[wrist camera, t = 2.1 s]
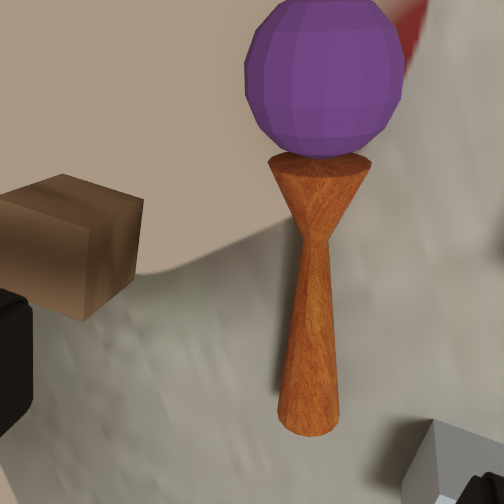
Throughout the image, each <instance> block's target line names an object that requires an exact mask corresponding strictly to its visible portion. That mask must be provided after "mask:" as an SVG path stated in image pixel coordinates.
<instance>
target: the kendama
mask: <svg viewBox="0 0 504 504" xmlns="http://www.w3.org/2000/svg"><path fill="white" fill-rule="evenodd" d="M244 67H245V68H244V71H245V72H244V73H245V96H246V98H247V101H248V103H249V105H250V108H251V110H252V112H253V115H254V117H255V120H256V122H257V124H258V126H259V127H260V129H261V130H262V131H263V132H264V133H265V134H266V135H267V136H269V138H270V139H272V140H273V141H274V142H275V143H276V144H277V145H278V146H279V147H280V148H281V149H284V150H286V151H289V152H284V153H281V154H278V155H275V156H273V157H271V159H270V160H269V161H268V164H269V166H270V168H271V171H272V173H273V175H274V177H275V179H276V181H277V183H278V186H279V188H280V190H281V192H282V194H283V196H284V199H285V200H286V203H287V205H288V207H289V209H290V211H291V214H292V216H293V218H294V220H295V222H296V224H297V226H298V229H299V231H300V233H301V235H302V237H303V245H302V251H301V258H300V264H299V271H298V278H297V284H296V291H295V297H294V304H293V310H292V317H291V323H290V330H289V336H288V343H287V350H286V356H285V363H284V369H283V376H282V382H281V389H280V395H279V402H278V409H277V412H278V417H279V420H280V422H281V423H282V424H283V425H284V427H285V428H286V429H288V430H290V431H292V432H293V433H295V434H298V435H302V436H307V437H312V436H321V435H324V434H326V433H328V432H330V431H332V430H333V428H334V427H335V426H336V425H337V424H338V420H339V414H340V413H339V398H338V382H337V367H336V352H335V337H334V321H333V306H332V291H331V275H330V260H329V245H328V240H329V238H330V236H331V235H332V233H333V231H334V229H335V228H336V226H337V224H338V223H339V221H340V219H341V217H342V216H343V214H344V212H345V211H346V209H347V207H348V205H349V204H350V202H351V200H352V199H353V197H354V195H355V193H356V192H357V190H358V188H359V187H360V185H361V183H362V181H363V180H364V178H365V176H366V175H367V173H368V171H369V169H370V167H371V163H372V162H371V161H370V160H368V159H367V158H366V157H364V156H361V155H358V154H355V153H351V152H354V151H356V150H359V149H361V148H362V147H363V146H365V145H366V144H367V143H368V142H369V141H371V140H372V139H373V138H374V137H375V136H376V135H378V134H379V133H380V132H381V131H382V130H384V129H385V127H386V126H387V124H388V122H389V120H390V118H391V116H392V114H393V112H394V110H395V109H396V107H397V105H398V103H399V101H400V99H401V93H402V84H403V76H404V67H405V58H404V55H403V51H402V49H401V45H400V41H399V38H398V34H397V30H396V27H395V26H394V25H393V24H392V22H391V21H390V20H389V19H388V18H387V17H386V15H385V14H384V13H383V12H382V11H381V9H380V8H379V7H378V6H377V5H376V3H374V2H373V1H371V0H286V1H284V2H282V3H280V4H278V6H277V7H276V8H275V9H274V10H273V11H272V12H271V13H270V15H269V16H268V17H267V18H266V19H265V20H264V21H263V23H262V24H261V25H260V26H259V27H258V28H257V29H256V31H255V34H254V36H253V39H252V42H251V45H250V48H249V51H248V53H247V56H246V59H245V62H244Z"/></svg>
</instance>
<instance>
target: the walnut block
mask: <svg viewBox="0 0 504 504" xmlns="http://www.w3.org/2000/svg"><path fill="white" fill-rule="evenodd" d="M143 204H144V199H142V198H138V197H135V196H132V195H129V194H126V193H123V192H119V191H116V190H113V189H110V188H107V187H103V186H100V185H97V184H94V183H91V182H88V181H84V180H81V179H78V178H75V177H72V176H69V175H66V174H60V175H57V176H54V177H51V178H49V179H46V180H43V181H40V182H37V183H34V184H31V185H28V186H25V187H22V188H19V189H16V190H13V191H10V192H7V193H4V194H1V195H0V288H3V289H6V290H8V291H11V292H14V293H16V294H19V295H22V296H24V297H26V298H27V300H28V301H29V302H31V303H34V304H37V305H39V306H42V307H45V308H47V309H50V310H53V311H55V312H58V313H61V314H63V315H66V316H69V317H71V318H74V319H77V320H79V321H82V322H83V321H85V320H86V319H87V318H88V317H89V316H91V315H92V314H93V313H94V312H96V311H97V310H98V309H99V308H100V307H102V306H103V305H104V304H105V303H106V302H108V301H109V300H110V299H111V298H113V297H114V296H115V295H116V294H117V293H119V292H120V291H121V290H122V289H124V288H125V287H126V286H127V285H128V284H130V283H131V282H132V281H133V280H134V274H135V271H136V263H137V254H138V246H139V237H140V229H141V221H142V212H143Z"/></svg>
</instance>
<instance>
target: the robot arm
mask: <svg viewBox="0 0 504 504" xmlns="http://www.w3.org/2000/svg"><path fill="white" fill-rule="evenodd" d="M32 400H33V311H32V308H31V306H29V304H28V300H27V298H26V297H24V296H22V295H19V294H16V293H14V292H11V291H8V290H6V289H3V288H0V437H1V436H2V435H3V434H4V433H5V432H6V431H7V430H9V429H10V428H11V427H12V426H13V425H14V424H15V423H16V422H17V421H18V420H19V419H20V418H21V417H22V416H23V415H24V414H25V413H26V412H27V410H28V409H29V407H30V405H31V403H32ZM455 504H504V477H503V476H500V475H498V474H495V473H492V472H486V473H484V475H483V476H482V477H479V476H477V475H474V476H472V478H471V479H470V480H469V482H468V484H467V485H466V487H465V488H464V490H463V492H462V493H461V495H460V497H459V498H458V500H457V502H456V503H455Z"/></svg>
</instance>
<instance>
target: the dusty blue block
mask: <svg viewBox="0 0 504 504" xmlns="http://www.w3.org/2000/svg"><path fill="white" fill-rule="evenodd" d="M486 472H492V473H495V474H498V475H500V476H503V477H504V444H501V443H499V442H496V441H493V440H490V439H488V438H485V437H482V436H479V435H477V434H474V433H471V432H468V431H466V430H463V429H460V428H457V427H454V426H452V425H449V424H446V423H443V422H441V421H438V420H435V419H433V421H432V423H431V425H430V427H429V429H428V431H427V433H426V435H425V437H424V439H423V441H422V443H421V445H420V447H419V449H418V451H417V453H416V455H415V457H414V459H413V461H412V463H411V465H410V467H409V469H408V471H407V473H406V475H405V477H404V479H403V481H402V483H401V504H455V503H456V502H457V500H458V498H459V497H460V495H461V493H462V492H463V490H464V488H465V487H466V485H467V484H468V482H469V480H470V479H471V478H472V476H474V475H477V476H479V477H482V476H483V475H484V473H486Z"/></svg>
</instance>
